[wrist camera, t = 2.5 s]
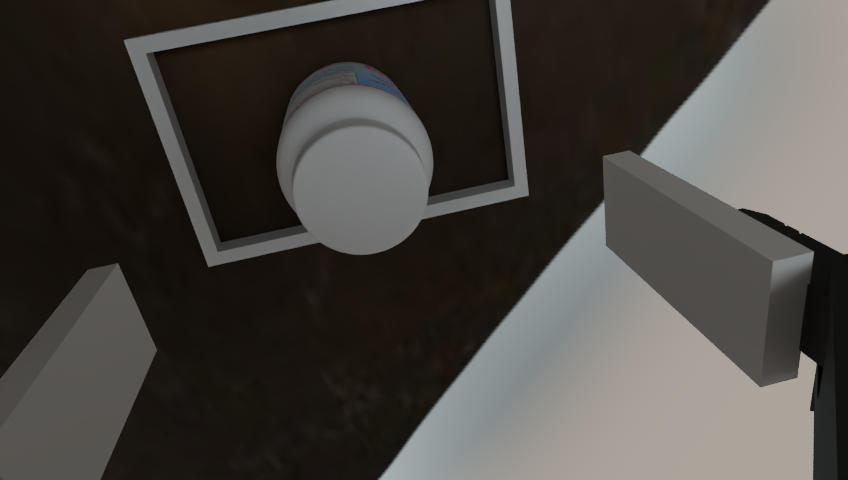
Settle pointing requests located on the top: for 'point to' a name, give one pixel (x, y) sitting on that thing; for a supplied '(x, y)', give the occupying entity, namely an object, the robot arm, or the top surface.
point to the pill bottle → (354, 159)
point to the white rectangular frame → (337, 4)
